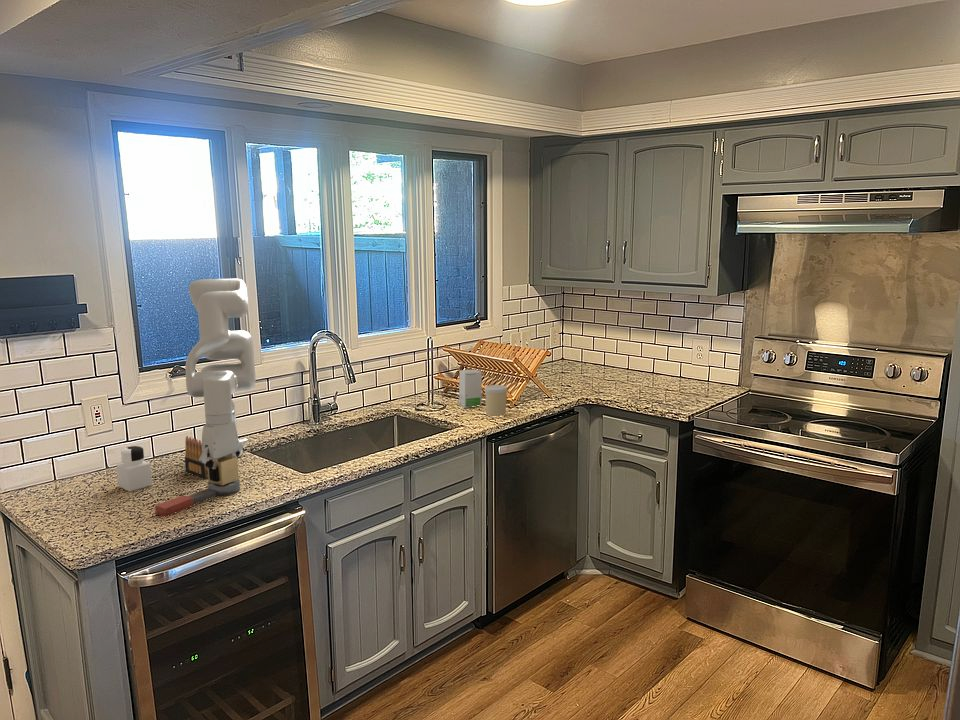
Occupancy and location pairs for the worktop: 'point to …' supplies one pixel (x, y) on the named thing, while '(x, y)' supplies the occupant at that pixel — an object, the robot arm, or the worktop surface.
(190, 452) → the ammunition clip
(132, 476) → the medicine bottle
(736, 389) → the worktop surface
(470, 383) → the skincare box
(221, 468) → the wooden block
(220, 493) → the ratchet
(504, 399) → the coffee cup
